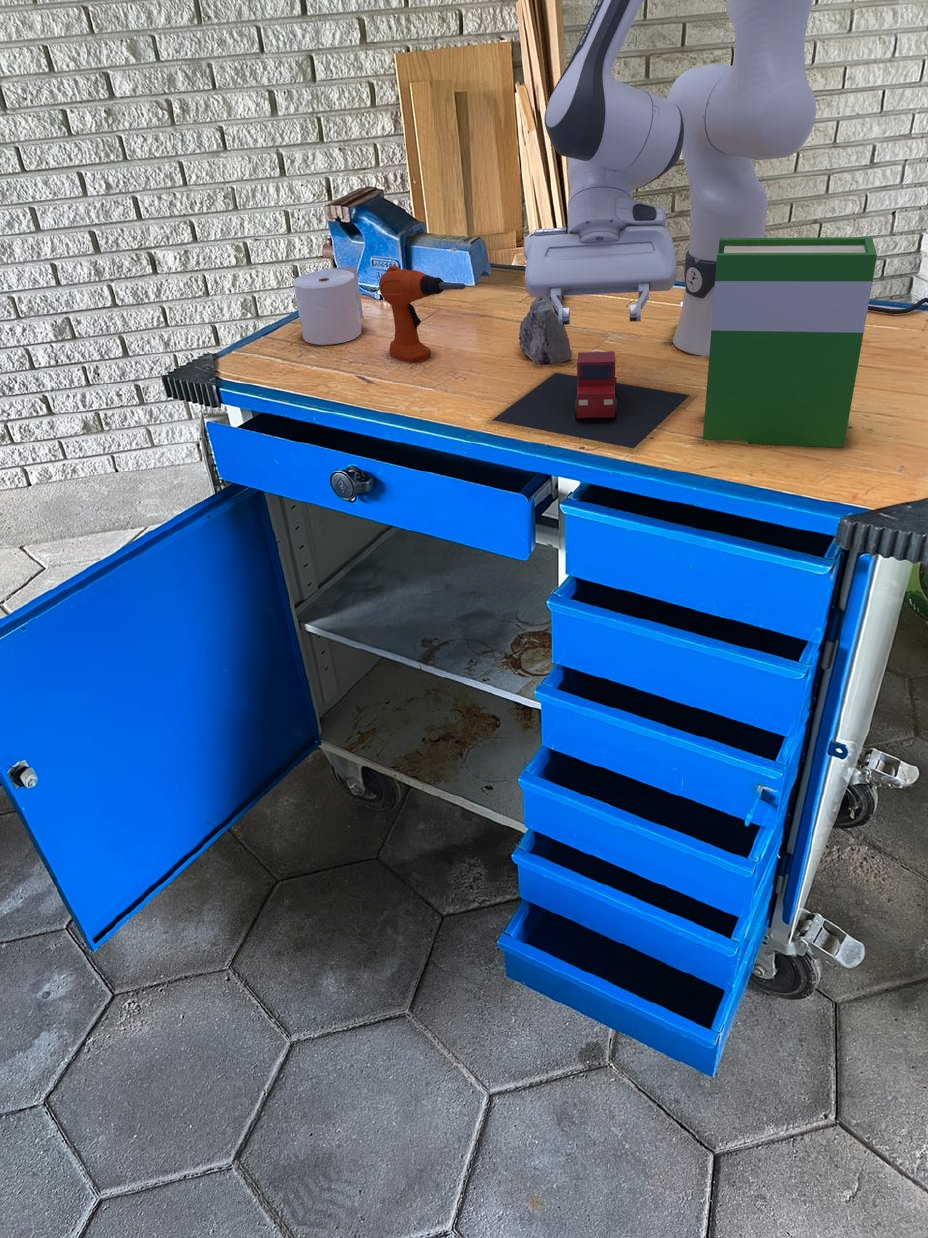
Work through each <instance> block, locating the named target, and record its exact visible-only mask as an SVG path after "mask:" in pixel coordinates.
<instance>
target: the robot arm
mask: <svg viewBox="0 0 928 1238" xmlns="http://www.w3.org/2000/svg"><path fill="white" fill-rule="evenodd" d="M645 1H646V0H597V2H596V4H595V6H594V8H593V10H592V13H591V14H590V17H589V19H588V21H587V24H586V26H585V28H584V31H582V32H583V33H582V35H581V37H580V39H579V41H578V43H577V45H576V48H575V50H574V52H573V54H572V56H571V58H570V60H569V62H568V64H567V66H566V68H565V69H564V71H563V72H562V73H561V76H560V77H559V80H558V81H557V83H556V85H555V86H554V88H553V90H552V92H551V94H550V97H549V98H548V102H547V104H546V107H545V112H544V119H543V120H544V127H545V130H546V133H547V136H548V139H549V140H550V142H551V145H552V147H553V148H554V150H555V152H556V153H557V154H558V155H559V156H561V157H565V158H568V163H567V168H568V169H567V180H568V184H569V187H570V193H569V198H568V201H567V226H563V227H553V228H537V229H534V231H533V232H531V233H529V234H527V236H526V237H525V238H524V240H523V256H524V257H525V259H526V263H525V268H524V269H525V270H524V271H525V272H524V287H525V291H526V292H527V294H528V295H529V296H530V297H531V298H537V297H551V303H552V305H553V306H554V308H555V309H556V311H557V312H558V319H559V325H564V326H566V325H567V326H568V325H570V324H571V310H570V307H564V305H563V301H562V300H563V298H562V296H564V297H569V296H590V295H607V294H608V295H610V294H612V295H613V294H629V293H630V294H631V293H632V294H633V293H637V298H638V299H637V301H636V302H635V304H629V323H632V322H635V323H636V322H637V323H638V322H641V319H642V310H643V308H644V306H645V305H646V303H647V302H648V301H649V299H650V298H649V297H650V292H651V293H652V292H668V291H670V290H671V289H672V288H673V287H674V286H675V284H676V280H677V260H676V252H675V246H674V245H675V244H674V241H673V236H672V235H671V232H670V231H669V230H668V229H667V215H666V211H665V209H664V208H663V207H661V206H658V205H653V204H649V203H645V202H641V201H637V200H634V199H633V193H634V191H635V190H636V189H641V188H644V187H646V186H647V185H650V184H651V183H653V182H655V181H656V180H658V179H660V178H661V177H662V176H664V175H665V174H667V173H668V172H669V171H670V170H671V169H672V168H673V167H674V166H676V164H677V162H678V161H679V159H680V156H681V154H682V158H683V163H684V167H685V171H686V176H687V182H688V189H689V197H690V213H689V214H690V215H689V216H690V217H689V238H688V239H689V241H688V250H687V251H686V253H685V260H684V271H683V272H684V273H683V277H684V293H683V298H682V301H681V302H680V307H681V309H680V313H679V318H678V323H677V326H676V330H675V332H674V336H673V338H672V343H673V345H674V347H676V348H677V349H678V350H680V351H683V352H685V353H688V354H691V355H696V356H702V357H709V352H710V340H711V327H712V314H713V301H714V288H715V276H716V263H717V253H718V252H719V240H720V238H765V233H766V232H765V231H766V222H767V213H768V204H769V203H768V196H767V192H766V189H764V187H763V185H762V184H761V182H760V181H759V179H758V177H757V174H756V171H755V168H754V163H753V161H765V160H775V159H782V158H787V157H789V156H792V155H793V154H795V153H796V152H798V151H799V150H800V149H801V148H802V147H803V146H804V144H805V143H806V142H807V140H808V138H809V137H810V135H811V134H812V131H813V128H814V125H815V122H816V117H817V100H816V95H815V93H814V91H813V89H812V87H811V85H810V83H809V80H808V77H807V71H806V62H805V61H806V60H805V54H806V53H805V51H806V50H805V47H806V33H807V27H808V22H809V17H810V13H811V10H812V6H813V3H814V0H726V5H725V6H726V7H725V9H726V15H727V18H728V21H729V22H730V24H731V25H732V26H733V30H734V40H735V43H734V44H735V47H734V59H733V65H730V64H722V63H710V64H706V65H701V66H697V67H694V68H691V69H688V70H686V71H684V72H683V73H681V74H680V75H679V76H678V77H677V78H676V79H675V80H674V82H673V84H672V85H671V87H670V89H669V91H668V94H667V97H666V98H663V97H660V96H658V95H656V94H653V93H651V92H648V91H646V90H641V89H639V88H637V87H634V86H631V85H629V84H626V83H624V82H622V81H619V80H617V79H616V78H614V76H613V67H614V65H615V62H616V59H617V57H618V55H619V53H620V51H621V49H622V47H623V44H624V42H625V40H626V38H627V36H628V33H629V32H630V29H631V27H632V25H633V23H634V21H635V18H636V16H637V15H638V12H639V10H640V9H641V6H642V5H643V4H644V3H645ZM561 302H562V304H561ZM925 303H926V304H928V297H923V298H921V299H919V301H917V302H916V303H915V304H913V305H911V306H909V307H906V308H887V307H881V306H875V305H868V311H869V312H875V313H882V314H888V315H890V314H891V315H903V314H909V313H911V312H914V311H915V310H917V309H919V308H920V307H921V306H923V304H925ZM562 305H563V306H562Z"/></svg>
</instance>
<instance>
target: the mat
mask: <svg viewBox="0 0 928 1238" xmlns="http://www.w3.org/2000/svg"><path fill="white" fill-rule="evenodd" d="M576 378H578V376H577V375H571V374H565V373H560V372H555V373H553V374H552V375H550V376H549V377H548V378H547V379H545V380H544V381H543V382H541V383H540V384H538V385H537V386H535V388H533V389H531V390H530V391H529V392H528V393H527V394H525V395H523V396H522V397H521V398H520V399H518V400H517V401H516V402H514V403H513V404H511V405H510V406H509V407H507V408H506V409H504V411H502V412H500V413H499V414H498V415H496V416H495V417H493V418H492V421H494V422H498V423H503V424H509V425H513V426H519V427H523V428H529V429H532V430H539V431H544V432H548V433H553V434H558V435H564V436H567V437H568V436H569V437H574V438H579V439H584V440H589V441H593V442H599V443H604V444H608V445H613V446H618V447H623V448H628V449H633V450H634V449H635V448H636V447H638V446H639V445H640V444H641V443H642V441H644V440H645V439H646V438H647V437H648V436H649V435H650V434H651V433H652V432H653V431H654V430H655V429H656V428H658V426H659V425H660V424H661V423H662V422H663V421H665V420H666V419H667V418H668V417H669V416H670V415H671V414H672V413H673V412H674V411H675V410H676V409H678V407H679V406H680V405H681V404H682V403H683V402H685V401H686V399H688V398H689V397H690V394H686V393H681V392H675V391H669V390H662V389H656V388H650V387H644V386H638V385H632V384H625V383H621V382H620V383H619V382H617V387H616V395H615V399H617V418H583V419H575V400H577V396H576Z"/></svg>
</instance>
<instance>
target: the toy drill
mask: <svg viewBox="0 0 928 1238" xmlns="http://www.w3.org/2000/svg"><path fill="white" fill-rule="evenodd" d="M465 288H466V284H465V283H463V282H448V281H444V280H443V279H442V278H441V277H437V276H435V277H434V276H431V275H430V274H426V273H424V272H422V271H419V270H416V269H412V270H409V269H407V268H403V269H401V268H400V267H399V266H398V265H391V266H389V267H388V268H387V269H386V272H384V273H383V274H382V275H381V277H380V278H379V281H378V289H379V291H380V294H381V297H382V299H383V300H384V301H385V302H387V304H389V305H390V307H391V310H392V315H393V321H394V337H393V338H394V339H393V340H392V341H390V343H389V354H390V356H391V357H392V358H394V359H397V360H400V361H402V362H403V361H404V362H408V363H420V362H424V361H427V360H428V359H430V358H431V356H432V350H431V349H430V348H429V347H427V346H426V345H425V344H424V342H421V341H420V337H419V333H418V327H419V326H420V324H421V322H422V320H421V319H420V317H419V315H418V314H417V312H416V308H415V307H414V306H413V305H412V304H411V303H413V302H415V301H418V300H422V299H424V298H427V297H429V296H432V295H440V294H441V293H443V291H444V290H445V291H447V290H461V291H462V290H465Z"/></svg>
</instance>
